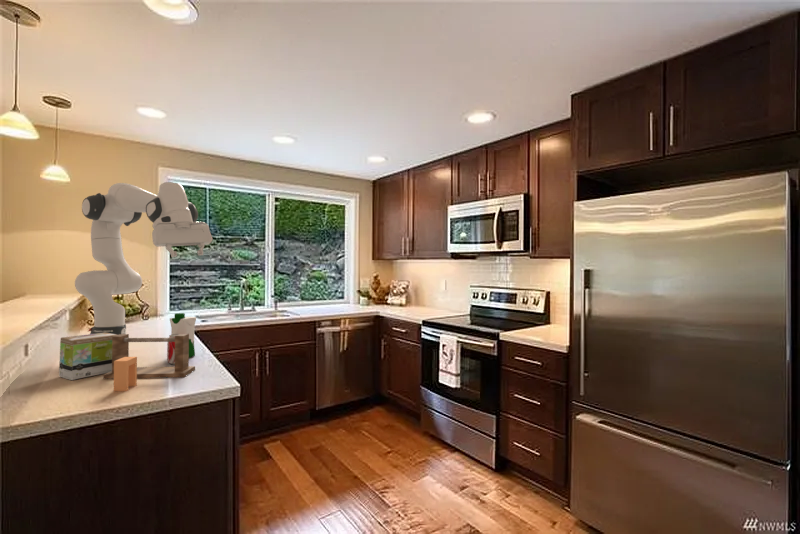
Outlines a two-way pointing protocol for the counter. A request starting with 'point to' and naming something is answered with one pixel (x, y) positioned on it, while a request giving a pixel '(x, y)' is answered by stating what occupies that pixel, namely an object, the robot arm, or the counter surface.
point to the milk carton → (184, 328)
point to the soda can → (171, 350)
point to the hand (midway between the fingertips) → (187, 255)
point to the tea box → (85, 355)
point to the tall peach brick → (125, 373)
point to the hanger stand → (180, 370)
